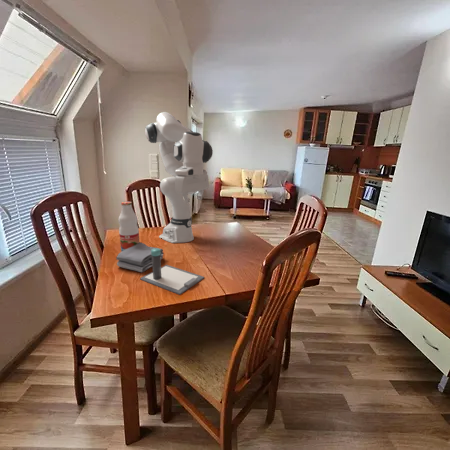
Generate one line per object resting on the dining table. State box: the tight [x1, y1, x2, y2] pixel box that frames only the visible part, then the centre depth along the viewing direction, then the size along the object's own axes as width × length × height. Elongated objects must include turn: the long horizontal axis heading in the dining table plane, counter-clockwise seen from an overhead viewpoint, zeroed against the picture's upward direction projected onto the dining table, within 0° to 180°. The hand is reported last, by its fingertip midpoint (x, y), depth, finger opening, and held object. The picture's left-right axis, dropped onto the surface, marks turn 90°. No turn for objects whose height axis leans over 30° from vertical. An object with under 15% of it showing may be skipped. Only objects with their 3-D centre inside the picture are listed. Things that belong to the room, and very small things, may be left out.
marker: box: [151, 247, 162, 280], centre depth 104 cm, size 4×4×13 cm
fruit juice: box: [118, 201, 141, 252], centre depth 127 cm, size 9×9×28 cm
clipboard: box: [139, 264, 205, 295], centre depth 107 cm, size 22×16×2 cm
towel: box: [115, 241, 165, 273], centre depth 120 cm, size 15×18×8 cm
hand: (193, 201), depth 114 cm, fingers open, 8 cm apart
